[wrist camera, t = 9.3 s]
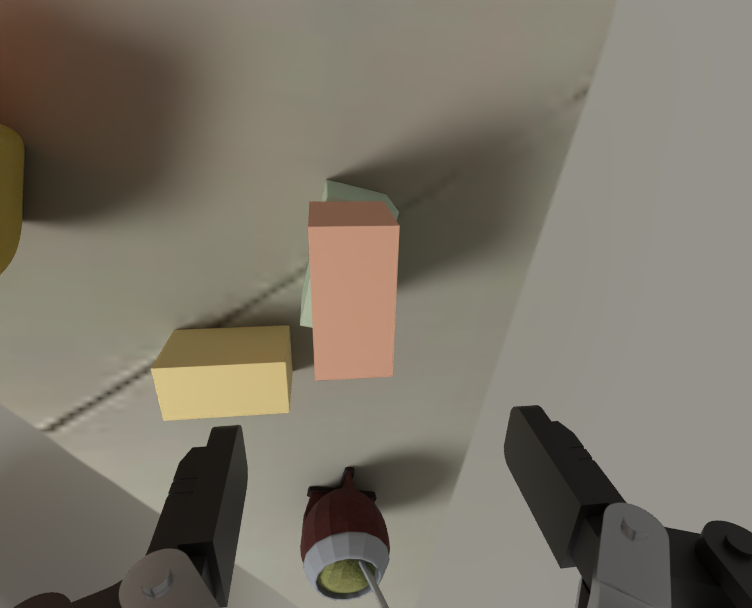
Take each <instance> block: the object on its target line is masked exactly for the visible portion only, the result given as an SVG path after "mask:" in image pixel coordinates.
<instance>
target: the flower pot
mask: <svg viewBox="0 0 752 608" xmlns="http://www.w3.org/2000/svg"><path fill="white" fill-rule="evenodd" d="M23 175H24V143H23V140H22V138H21V136H20V135H19V134H18V133H17V132H15V131H14V130H12V129H11V128H9V127H7V126H4V125H1V124H0V274H1V273H2V272H3V271H4V270H5V269H6V268H7V266H8V265H9V264H10V262H11V260H12V259H13V257H14V255H15V253H16V250H17V247H18V244H19V240H20V235H21V227H22V218H23V216H22V214H23V212H22V210H23Z"/></svg>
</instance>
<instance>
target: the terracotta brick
mask: <svg viewBox="0 0 752 608" xmlns="http://www.w3.org/2000/svg"><path fill="white" fill-rule="evenodd" d="M399 228H400V226H399V224H398V223H397V221H396V219H395V218H394V216H393V215H392V213H391V212H390V210H389V209H388V207H387V206H386V204H385V202H384V201H324V202H309V221H308V234H309V256H310V279H311V301H312V324H313V347H314V369H315V380H334V379H353V378H371V377H390V376H393V356H394V334H395V313H396V292H397V270H398V249H399Z"/></svg>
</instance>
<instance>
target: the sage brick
mask: <svg viewBox="0 0 752 608" xmlns="http://www.w3.org/2000/svg"><path fill="white" fill-rule="evenodd" d="M324 201H384V202H385V204H386V206H387V207H388V209H389V210H390V212H391V213H392V215H393V216H394V218H395V219H396V221H397V218H398V215H399V211H398V210H397V209H396V207H395V206H394V204H393V203H392V202H391V200H390V199H389V198H388V196H387V195H386V194H383V193H379V192H375V191H371V190H367V189H363V188H359V187H355V186H351V185H347V184H343V183H339V182H335V181H331V180H326V182H325V186H324V191H323V196H322V201H321V202H324ZM300 326H306V327H312V328H313V324H312V301H311V279H310V258H309V262H308V267H307V272H306V277H305V281H304V286H303V291H302V302H301V318H300Z"/></svg>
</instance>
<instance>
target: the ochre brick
mask: <svg viewBox="0 0 752 608" xmlns="http://www.w3.org/2000/svg"><path fill="white" fill-rule="evenodd" d="M151 371H152V375H153V379H154V383H155V387H156V392H157V396H158V400H159V404H160V408H161V413H162V417H163V421H167V420H183V419H198V418H214V417H229V416H245V415H261V414H276V413H289V411H290V399H291V386H292V373H293V369H292V355H291V341H290V327H289V325H284V326H259V327H234V328H208V329H183V330H174V331H173V333H172V334H171V336H170V338H169V339H168V341H167V343H166V344H165V346H164V348H163V349H162V351H161V353H160V355H159V356H158V358H157V360H156V361H155V363H154V365H153V366H152V368H151Z"/></svg>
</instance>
